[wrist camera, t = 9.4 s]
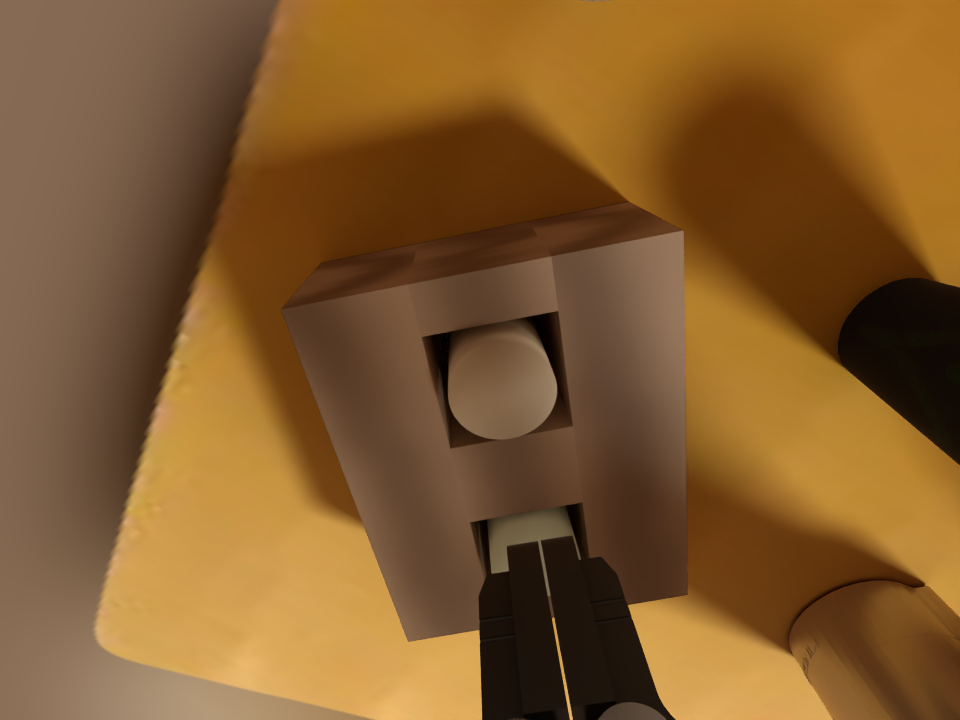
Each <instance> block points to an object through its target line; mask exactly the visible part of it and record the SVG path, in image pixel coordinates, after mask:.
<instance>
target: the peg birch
mask: <svg viewBox="0 0 960 720" xmlns="http://www.w3.org/2000/svg"><path fill="white" fill-rule="evenodd" d="M556 397H557V383H556V378H555V376H554V373H553V370H552V368H551V365H550V362H549V360H548V357H547V355H546V352H545V349H544V347H543V344H542V341H541V339H540V336H539V333H538V331H537V328H536V326H535V323H534V320H533V318H532V316H529V317H523V318H518V319H513V320H508V321H502V322H497V323H492V324H487V325H482V326H476V327H471V328H466V329H461V330H456V331H450V332H449V368H448V400H449V405H450V408H451V411H452V413H453V415H454V416H455V418H456V419H457V421H458V422H459V423H460V424H461V425H462V426H463V427H465V428H466V429H467V430H469V431H470V432H472V433H474V434H476V435H478V436H481V437H484V438H489V439H497V440H502V439H512V438H516V437H519V436H522V435H525V434H527V433H529V432H531V431H532V430H534V429H536V428H537V427H538V426H539V425H541V424H542V423H543V422H544V421H545V420H546V418H547V417H548V416H549V414H550V413H551V411H552V409H553V407H554V404H555V401H556Z"/></svg>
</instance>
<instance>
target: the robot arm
mask: <svg viewBox="0 0 960 720" xmlns="http://www.w3.org/2000/svg"><path fill="white" fill-rule="evenodd" d="M541 545H542V550H543V556H544V562H545V567H546V573H547V579H548V584H549V590H550V596H551V601H552V607H553V612H554V618H555V623H556V629H557V634H558V640H559V645H560V651H561V656H562V662H563V667H564V673H565V678H566V683H567V689H568V694H569V700H570V705H571V711H572V716H573V720H675V719H674V718H673V717H672V716H671V715H670V713H669V712H668V711H667V709H666V708H665V707H664V705H663V704H662V702H661V700H660V698H659V696H658V693H657V691H656V688H655V685H654V682H653V679H652V676H651V673H650V670H649V667H648V664H647V661H646V658H645V655H644V652H643V649H642V646H641V643H640V640H639V637H638V634H637V631H636V628H635V625H634V622H633V620H632V618H631V614H630V611H629V608H628V605H627V602H626V600H625V596H624V593H623V590H622V587H621V584H620V581H619V578H618V575H617V573H616V572H615V571H614V570H613V569H612V568H611V567H610V566H609V565H608V563H607V562H606V561H605V560H604V559H603V558H602V557H594V558H588V559H581V560H579V558H578V554H577V550H576V546H575V542H574V539H573V536H572V535H571V536H564V537H558V538H552V539H546V540H541ZM507 558H508V568H509V571H506V572H500V573H493V574H487V576H486V578H485V581H484V583H483V586H482V588H481V591H480V593H479V596H478V599H479V621H480V624H479V629H480V660H481V690H482V720H570V718H569V713H568V707H567V702H566V696H565V690H564V685H563V679H562V673H561V668H560V662H559V656H558V651H557V645H556V640H555V634H554V628H553V623H552V617H551V611H550V606H549V600H548V594H547V589H546V583H545V578H544V572H543V566H542V561H541V555H540V550H539V544H538V541H534V542H528V543H522V544H515V545H509V546H507ZM789 647H790V649H791V652H792V654H793V656H794V657H795V659H796V660H797V662H798V664H799V665H800V667H801V669H802V670H803V673H804V674H805V676H806V678H807V679H808V681H809V683H810V684H811V685H812V686H813V688H814V689H815V691H816V693H817V694H818V696H819V697H820V699H821V701H822V702H823V704H824V705H825V707H826V709H827V711H828V712H829V714H830V715H831V717H832V719H833V720H960V617H959V616H958V615H957V614H956V613H955V612H954V611H953V610H952V609H951V608H950V607H949V606H948V605H947V604H946V603H945V602H944V601H943V600H942V599H941V598H940V597H939V596H938V595H937V594H936V593H935V592H934V591H933V590H932V589H931V588H930V587H929V586H925V587H919V588H913V587H909V586H907V585H904V584H902V583H899V582H893V581H887V580H881V581H867V582H861V583H856V584H853V585H849V586H846V587H843V588H840V589H838V590H836V591H833V592H831V593H829V594H827V595H826V596H824V597H822V598H821V599H819V600H817V601H816V602H814V603H813V604H812V605H811V606H809V607H808V608H807V609H806V610H805V611H804V612H803V613H802V614H801V615H800V616H799V618H798V619H797V620H796V622H795V623H794V625H793V627H792V629H791V632H790V635H789Z"/></svg>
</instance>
